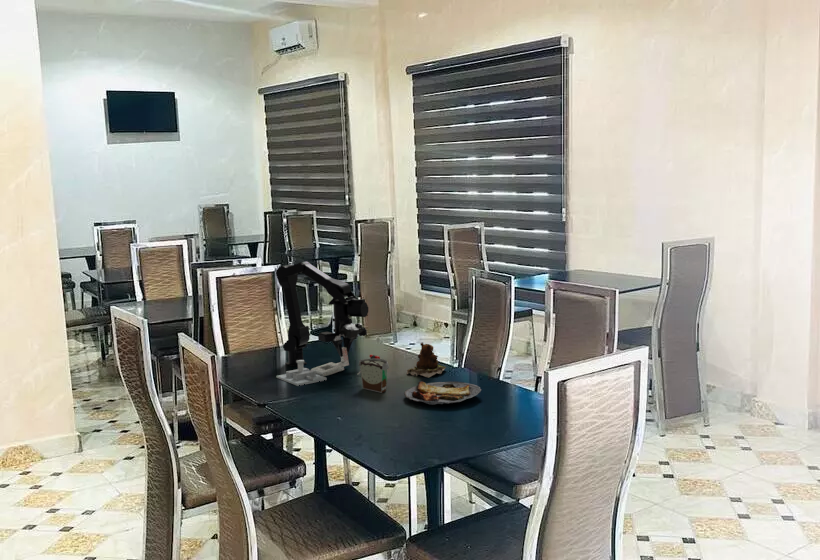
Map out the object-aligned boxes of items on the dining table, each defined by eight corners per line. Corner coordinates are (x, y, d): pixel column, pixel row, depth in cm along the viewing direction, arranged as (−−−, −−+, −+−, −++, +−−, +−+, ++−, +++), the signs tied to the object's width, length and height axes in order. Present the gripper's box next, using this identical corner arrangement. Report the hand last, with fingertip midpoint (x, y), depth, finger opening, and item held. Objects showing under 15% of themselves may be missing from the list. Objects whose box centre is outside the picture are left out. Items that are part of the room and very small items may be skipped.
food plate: (394, 405, 255) (393, 394, 254) (418, 386, 276) (418, 376, 276) (469, 410, 246) (469, 399, 246) (488, 390, 268) (487, 380, 267)
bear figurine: (453, 370, 298) (452, 338, 296) (430, 379, 286) (429, 346, 284) (424, 366, 306) (423, 335, 304) (400, 374, 294) (399, 342, 293)
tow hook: (389, 370, 298) (380, 356, 295) (371, 389, 293) (362, 374, 290) (378, 367, 303) (369, 353, 300) (361, 386, 298) (351, 371, 295)
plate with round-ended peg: (276, 378, 294) (275, 360, 293) (304, 372, 301) (303, 354, 300) (297, 386, 281) (296, 367, 280) (326, 380, 288) (325, 361, 288)
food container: (397, 389, 272) (396, 361, 271) (384, 393, 268) (383, 364, 267) (372, 384, 281) (371, 356, 280) (359, 387, 276) (358, 359, 275)
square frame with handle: (341, 362, 309) (338, 345, 308) (354, 366, 302) (351, 348, 300) (311, 372, 301) (308, 354, 300) (323, 376, 294) (321, 358, 293)
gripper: (332, 322, 290) (334, 363, 292) (374, 315, 301) (375, 355, 303) (316, 318, 299) (318, 358, 301) (357, 312, 310) (359, 351, 312)
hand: (343, 356), depth 304 cm, fingers closed on square frame with handle, 2 cm apart
